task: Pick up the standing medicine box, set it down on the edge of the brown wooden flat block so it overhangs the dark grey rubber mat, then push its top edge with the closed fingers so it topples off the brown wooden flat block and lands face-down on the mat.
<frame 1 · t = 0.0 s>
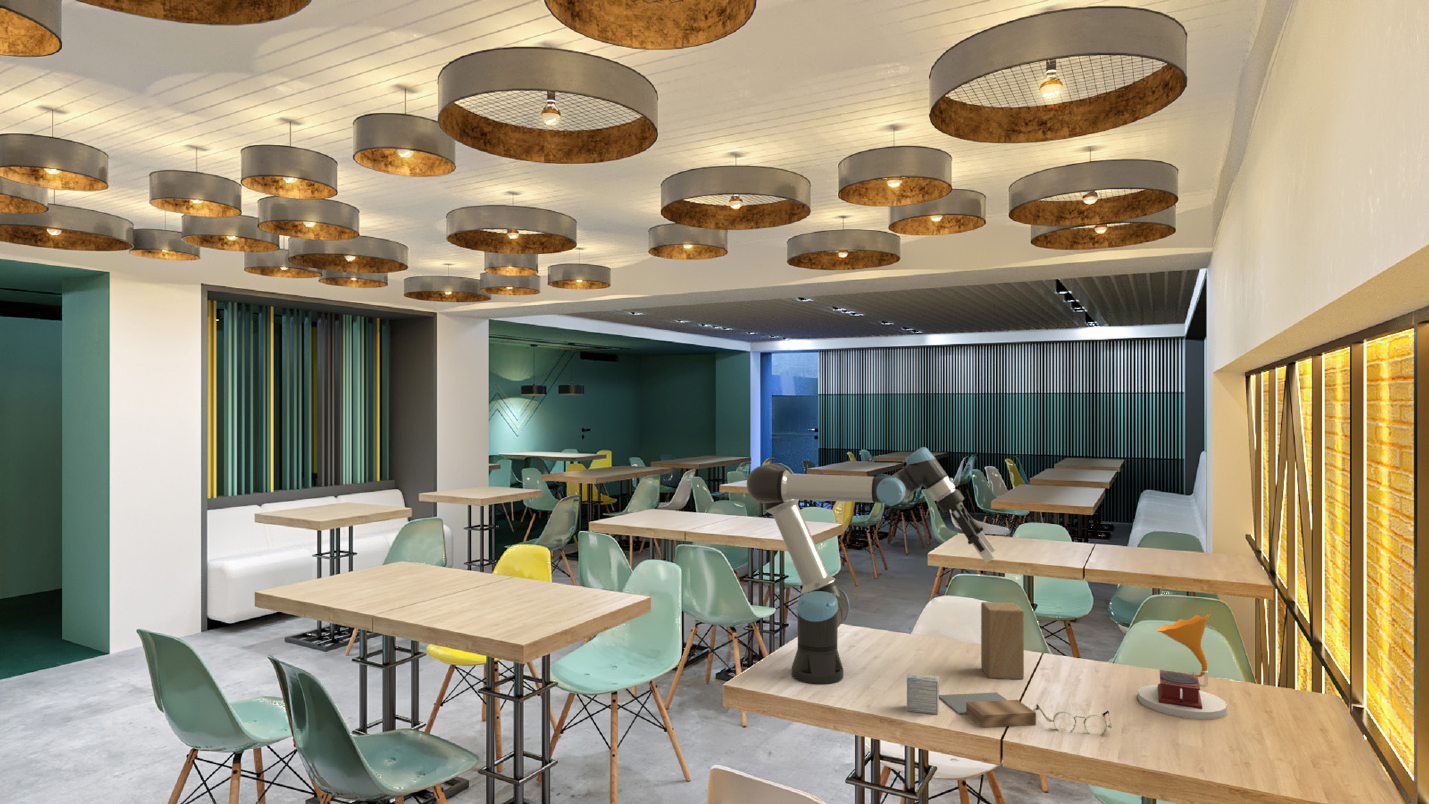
hand: (991, 556, 232), 36 cm above the table, tool tilted 35°, fingers open, 13 cm apart
gramophone: (1181, 705, 214), on the table
brown wooden flat block: (1000, 719, 203), on the table
wooden block: (1002, 674, 239), on the table
mat: (978, 703, 214), on the table
medicine box: (922, 711, 209), on the table
round eyeglasses: (1074, 724, 202), on the table
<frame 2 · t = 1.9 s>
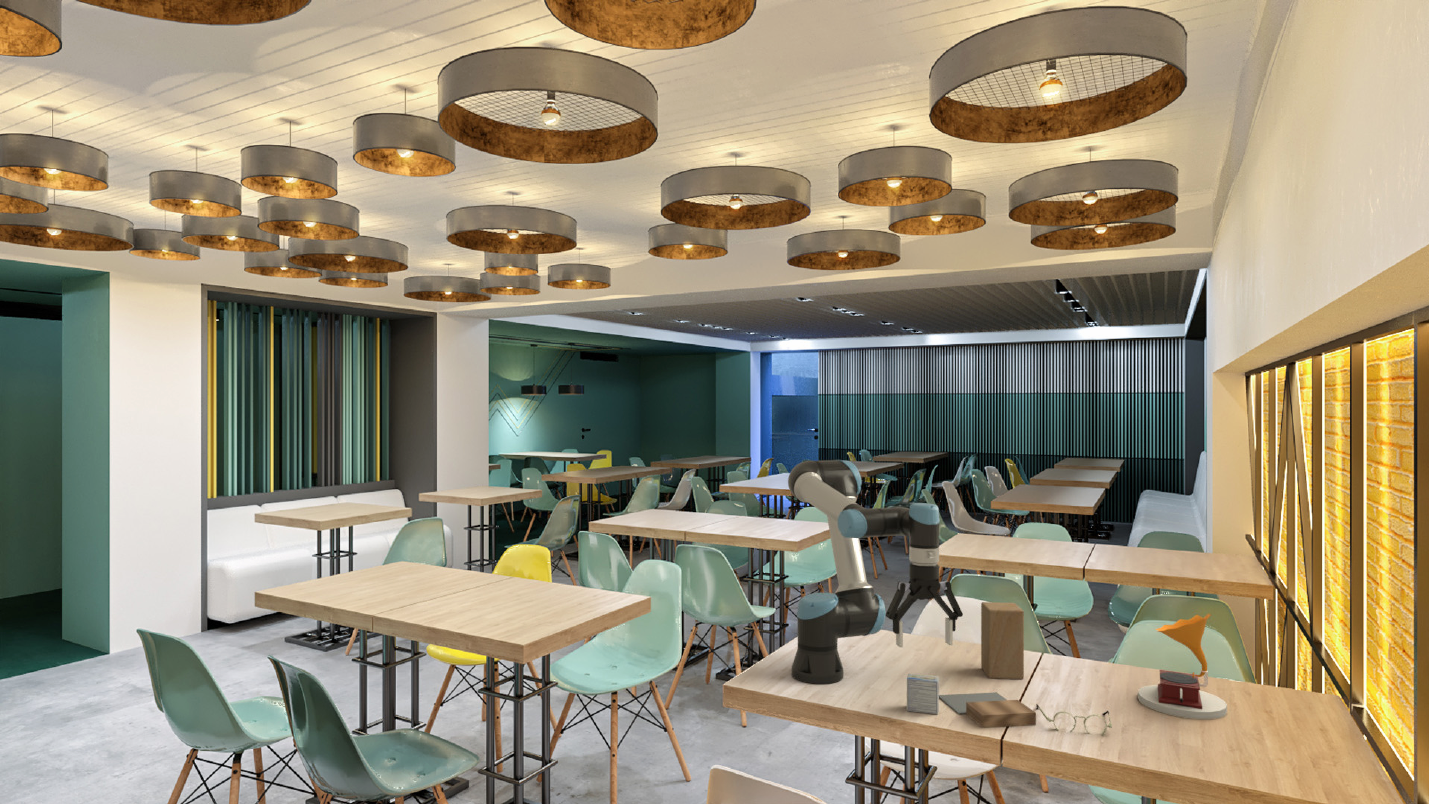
hand: (924, 645, 210), 17 cm above the table, tool pointing down, fingers open, 13 cm apart
nothing on the table moved.
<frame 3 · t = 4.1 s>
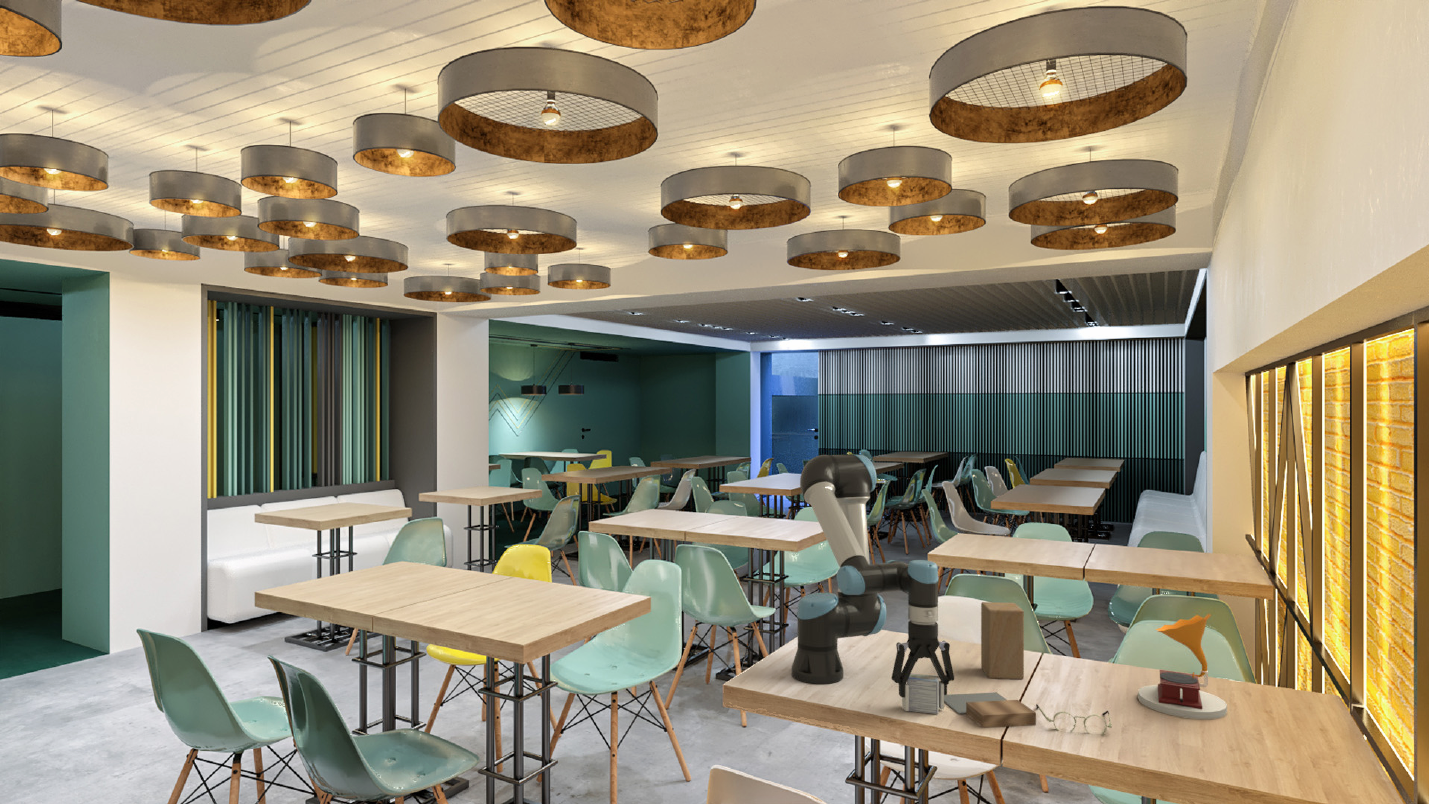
hand: (922, 708, 209), 0 cm above the table, tool pointing down, fingers closed on medicine box, 9 cm apart
medicine box: (922, 711, 209), on the table, touching gripper
everything else where it was.
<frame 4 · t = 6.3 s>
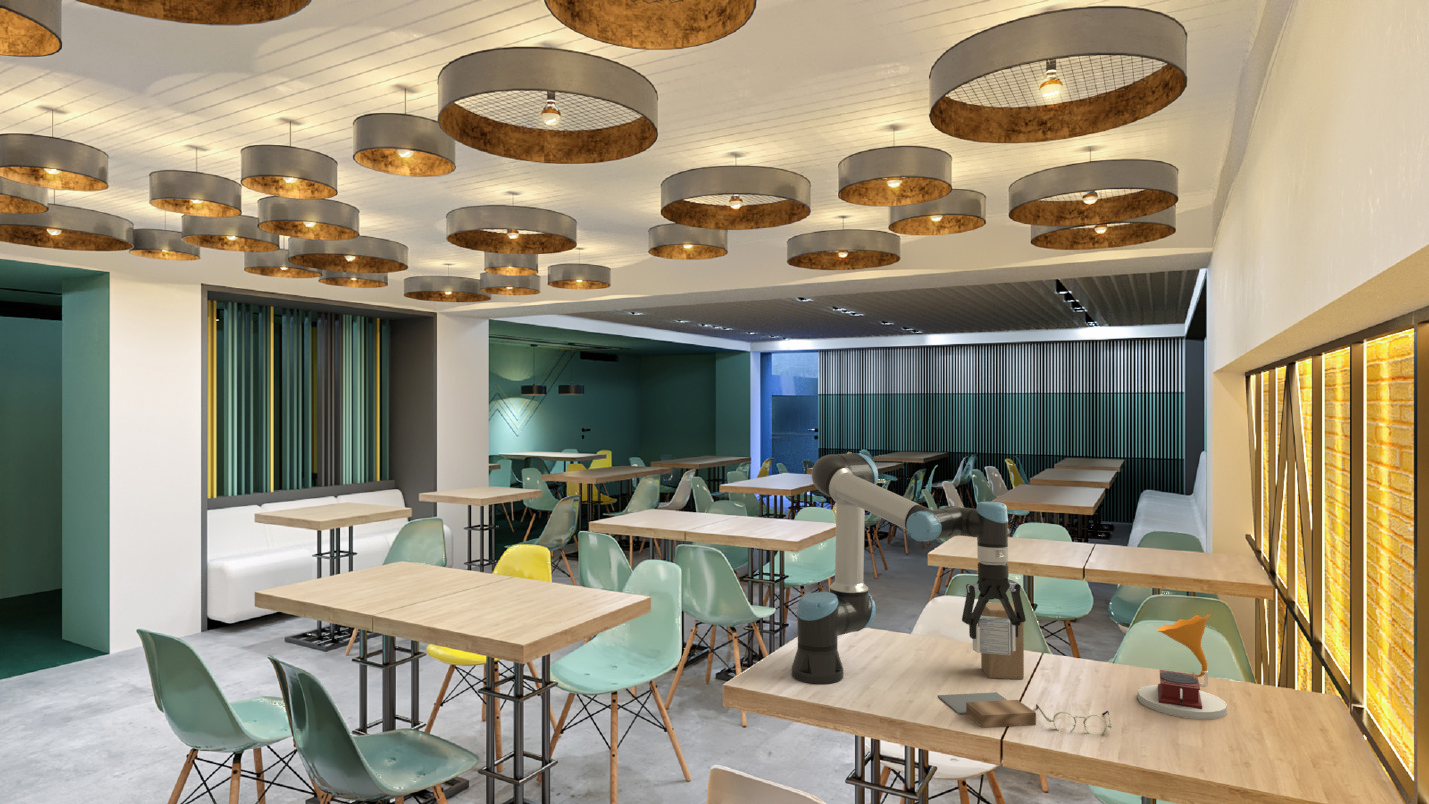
hand: (994, 650, 207), 16 cm above the table, tool pointing down, fingers closed on medicine box, 9 cm apart
medicine box: (994, 653, 207), point 16 cm above the table, touching gripper
everything else where it was.
when the fingers open (4 cm above the table, at t = 9.0 s): medicine box stays where it is, resting on brown wooden flat block.
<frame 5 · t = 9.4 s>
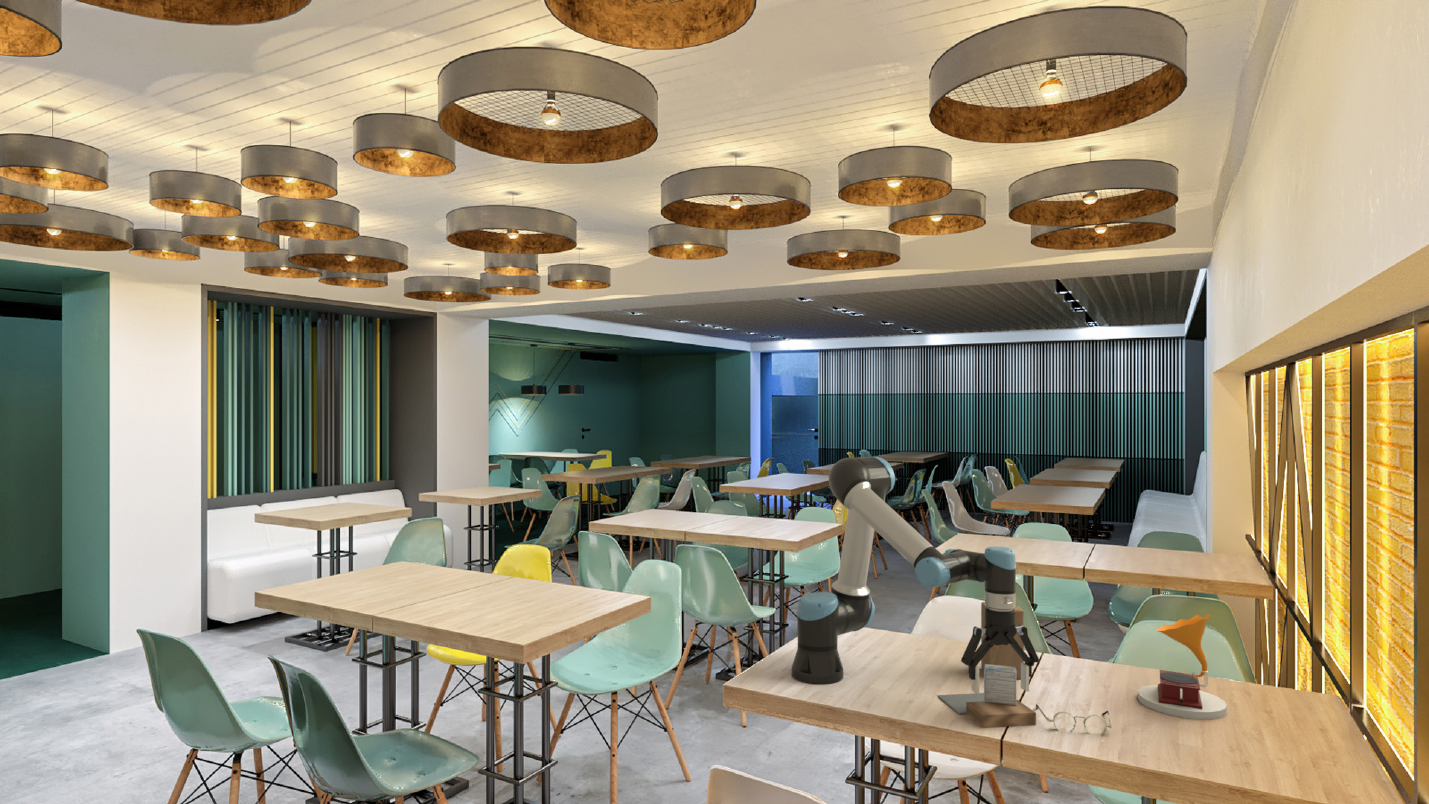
hand: (1000, 690, 207), 6 cm above the table, tool pointing down, fingers open, 13 cm apart
medicine box: (1000, 702, 207), point 3 cm above the table, touching brown wooden flat block
everything else where it was.
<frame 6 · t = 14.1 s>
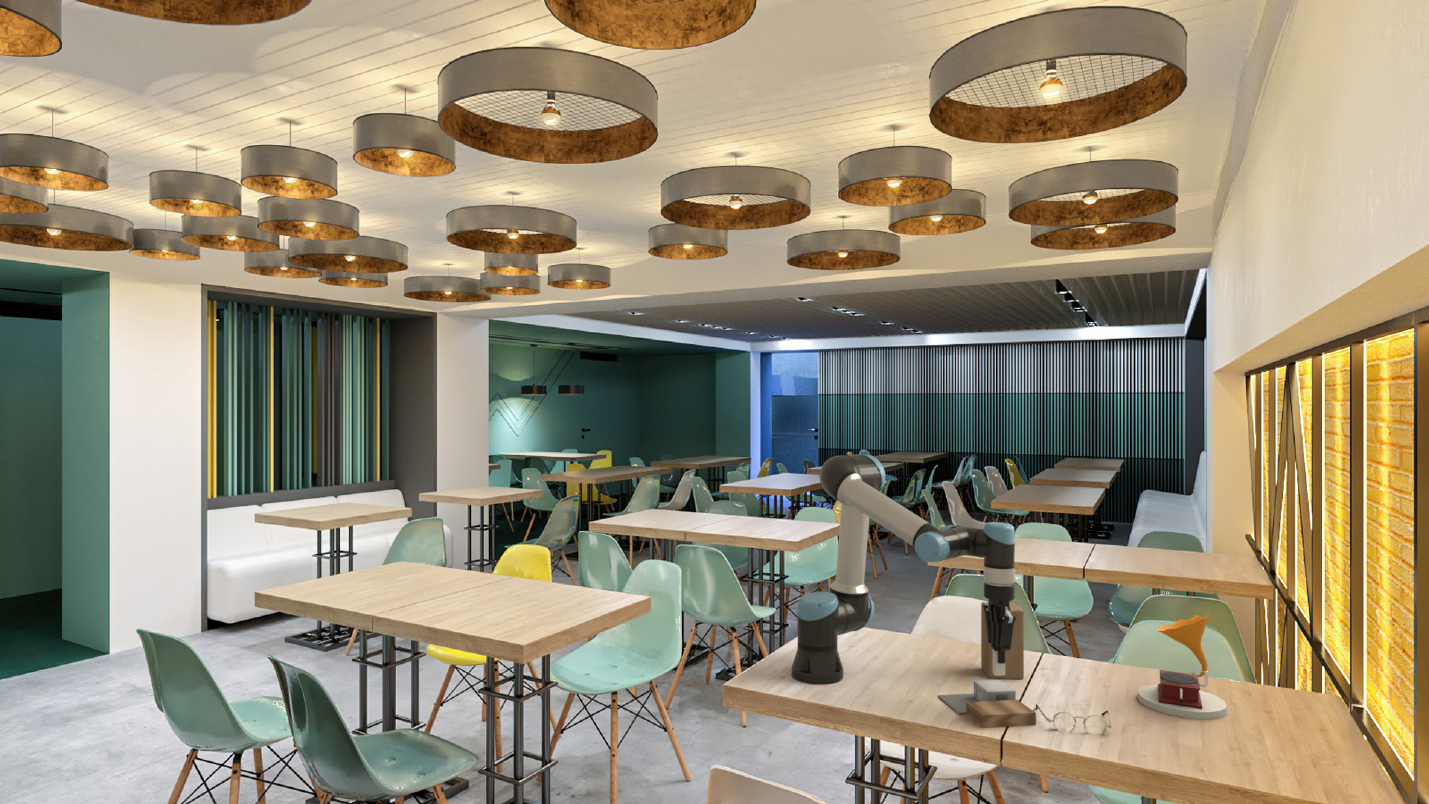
hand: (998, 674, 208), 10 cm above the table, tool pointing down, fingers closed
medicine box: (1002, 699, 210), point 3 cm above the table, touching mat
everything else where it was.
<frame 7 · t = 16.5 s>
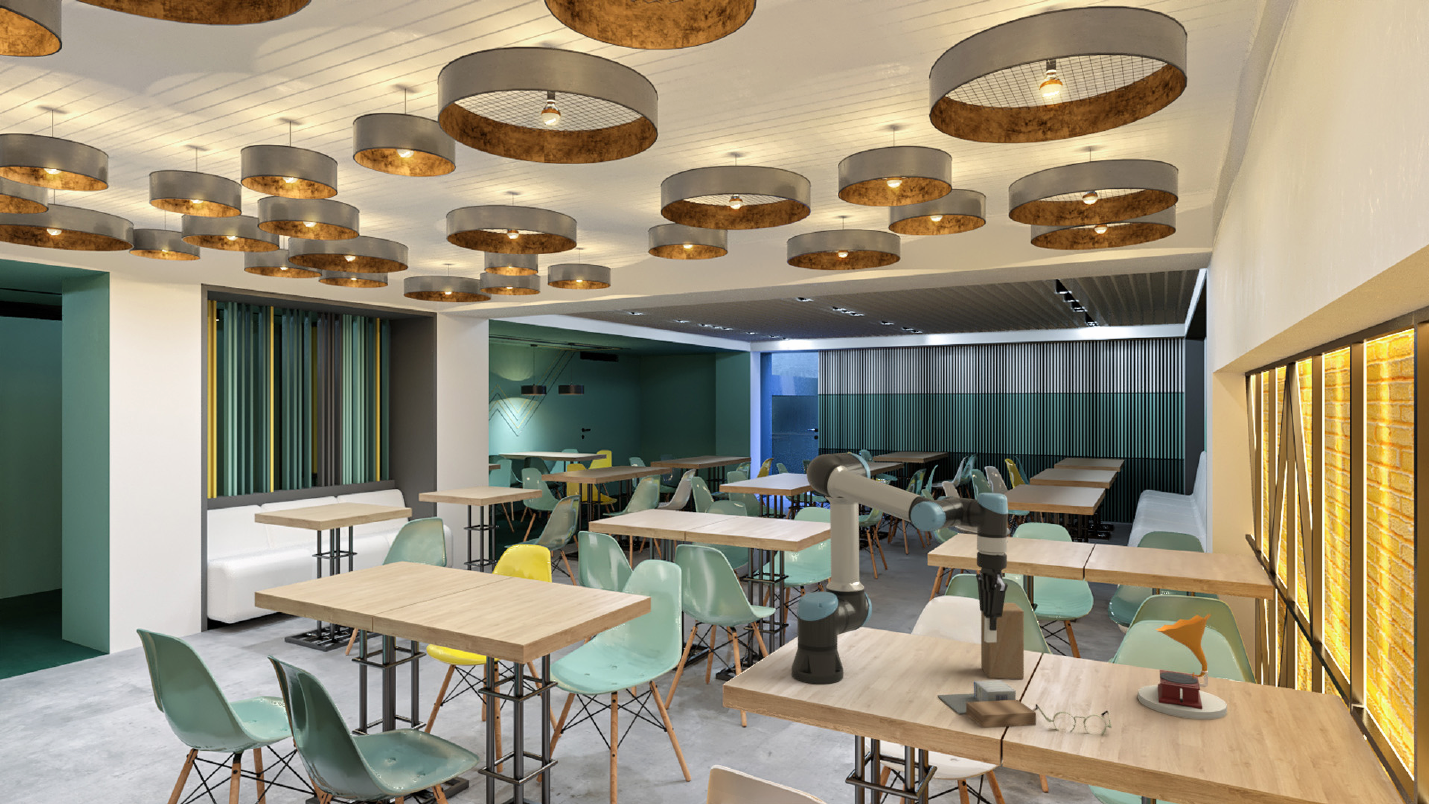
hand: (990, 641, 212), 17 cm above the table, tool pointing down, fingers closed
nothing on the table moved.
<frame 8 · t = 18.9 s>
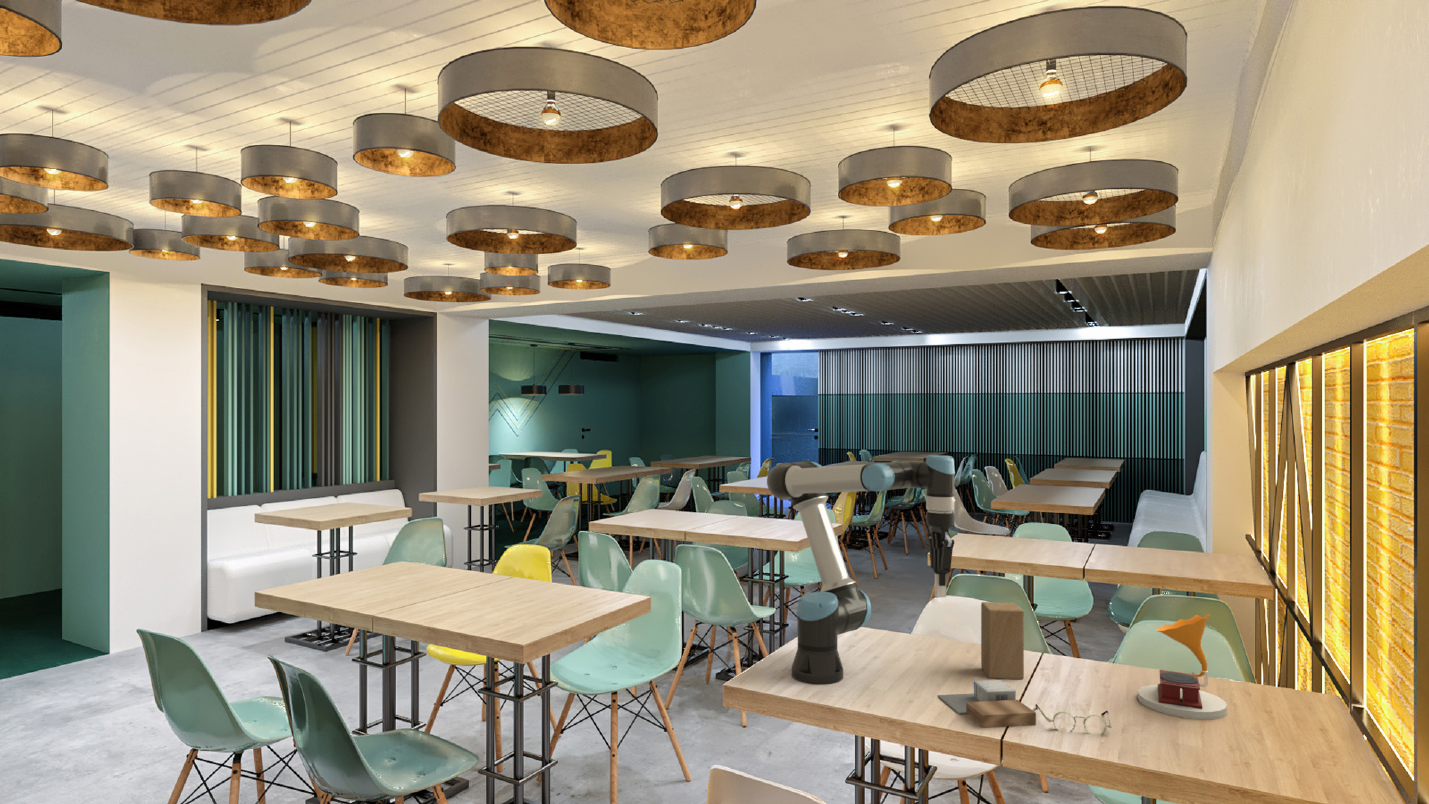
hand: (940, 596, 223), 26 cm above the table, tool pointing down, fingers closed
nothing on the table moved.
at the end: medicine box tilted 90°; medicine box inside the target area (6.8 cm from its centre), point 2.6 cm above the table; the gripper is holding nothing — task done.
